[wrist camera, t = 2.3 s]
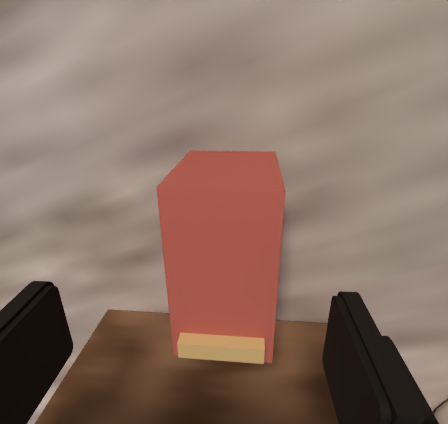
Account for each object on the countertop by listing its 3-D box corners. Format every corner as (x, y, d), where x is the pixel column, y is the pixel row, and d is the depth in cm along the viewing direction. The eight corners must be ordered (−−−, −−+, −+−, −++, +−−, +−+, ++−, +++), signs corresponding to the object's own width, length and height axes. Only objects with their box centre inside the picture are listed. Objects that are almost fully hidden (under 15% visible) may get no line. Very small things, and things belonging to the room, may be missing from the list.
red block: (274, 151, 16) (287, 196, 10) (267, 280, 19) (272, 375, 13) (190, 150, 16) (150, 193, 10) (197, 276, 19) (170, 366, 13)
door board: (333, 321, 19) (402, 536, 10) (328, 349, 20) (387, 568, 11) (107, 307, 21) (-9, 486, 12) (113, 334, 22) (9, 518, 13)
